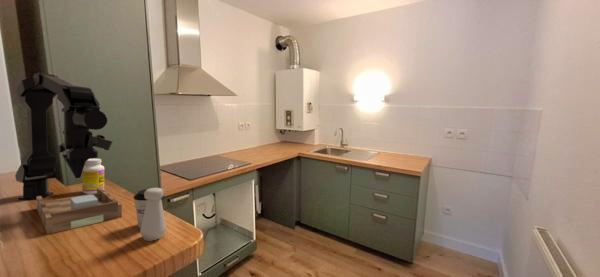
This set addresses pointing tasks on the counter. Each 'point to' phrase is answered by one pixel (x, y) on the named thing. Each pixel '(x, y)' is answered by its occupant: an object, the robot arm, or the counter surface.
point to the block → (83, 201)
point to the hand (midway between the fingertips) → (77, 177)
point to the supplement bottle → (92, 176)
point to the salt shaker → (153, 215)
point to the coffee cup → (140, 206)
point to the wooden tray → (77, 212)
